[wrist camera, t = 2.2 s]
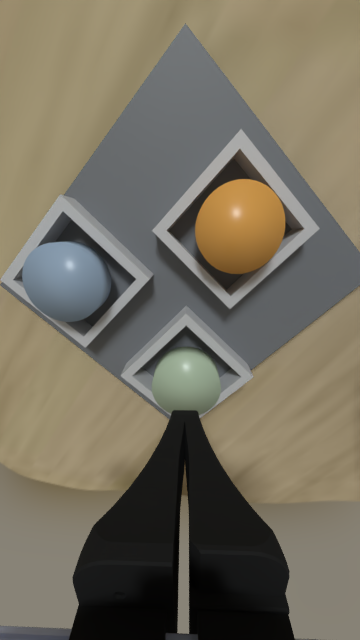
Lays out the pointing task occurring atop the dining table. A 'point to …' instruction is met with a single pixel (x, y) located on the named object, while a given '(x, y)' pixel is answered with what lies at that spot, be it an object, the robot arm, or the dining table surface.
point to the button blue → (66, 280)
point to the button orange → (240, 226)
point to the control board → (190, 232)
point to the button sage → (186, 380)
